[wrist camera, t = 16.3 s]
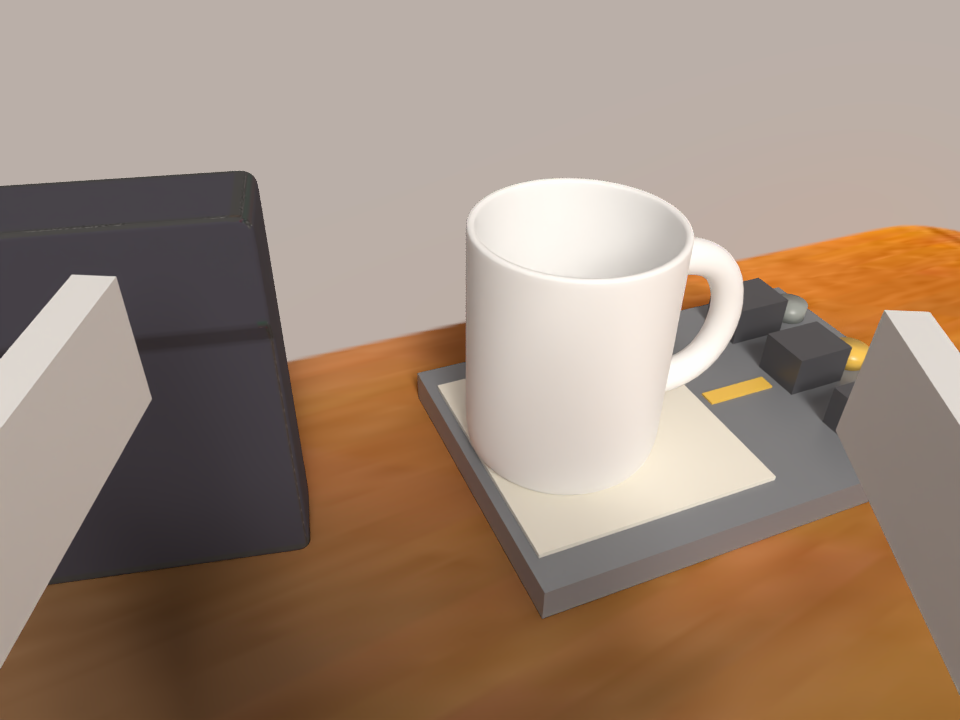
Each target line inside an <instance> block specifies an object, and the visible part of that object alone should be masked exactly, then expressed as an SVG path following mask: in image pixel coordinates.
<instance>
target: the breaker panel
mask: <svg viewBox="0 0 960 720" xmlns="http://www.w3.org/2000/svg"><path fill="white" fill-rule="evenodd" d="M743 287H744V293H743V306H742V311H741V316H740V319H739V322H738V325H737V327H736V330H735V332H734V334H733V336H732V338H731V340H730V341H729V343H728V345H727V346H726V348H725V350H724V351H723V352H722V353H721V355H720V356H719V357H718V359H717V360H716V361H715V362H714V363H713V364H712V365H711V366H710V367H709V368H708V369H707V370H705V371H704V372H703V373H702V374H700V375H699V376H698V377H696V378H695V379H693V380H691V381H690V382H688V383H686V384H684V385H682V386H680V387H678V388H675V389H672V390H670V391H666V392H665V395H664V400H663V405H662V411H661V416H660V421H659V426H658V430H657V435H656V439H655V442H654V445H653V447H652V449H651V452H650V454H649V456H648V458H647V460H646V461H645V463H644V464H643V465H642V466H641V467H640V468H639V469H638V470H637V471H636V472H635V473H634V474H633V475H632V476H630V477H629V478H628V479H626V480H625V481H623V482H621V483H619V484H618V485H615V486H613V487H610V488H608V489H605V490H601V491H598V492H594V493H588V494H582V495H555V494H547V493H542V492H537V491H533V490H530V489H527V488H524V487H521V486H519V485H517V484H515V483H513V482H510V481H508V480H507V479H505V478H503V477H502V476H500V475H499V474H497V473H496V472H495V471H493V470H492V469H491V468H490V467H489V466H488V465H487V464H486V463H485V462H484V461H483V460H482V459H481V457H480V456H479V455H478V453H477V452H476V450H475V448H474V447H473V445H472V443H471V440H470V436H469V433H468V428H467V419H466V362H463V363H459V364H454V365H450V366H446V367H442V368H438V369H433V370H429V371H425V372H421V373H417V374H418V397H419V399H420V401H421V402H422V404H423V406H424V408H425V410H426V411H427V413H428V415H429V417H430V419H431V420H432V422H433V424H434V426H435V428H436V429H437V431H438V433H439V435H440V436H441V438H442V440H443V442H444V444H445V445H446V447H447V449H448V451H449V453H450V454H451V456H452V458H453V460H454V462H455V463H456V465H457V467H458V469H459V470H460V472H461V474H462V476H463V478H464V479H465V481H466V483H467V485H468V487H469V488H470V490H471V492H472V494H473V496H474V497H475V499H476V501H477V503H478V504H479V506H480V508H481V510H482V512H483V513H484V515H485V517H486V519H487V521H488V522H489V524H490V526H491V528H492V530H493V531H494V533H495V535H496V537H497V539H498V540H499V542H500V544H501V546H502V547H503V549H504V551H505V553H506V555H507V556H508V558H509V560H510V562H511V564H512V565H513V567H514V569H515V571H516V573H517V574H518V576H519V578H520V580H521V581H522V583H523V585H524V587H525V589H526V590H527V592H528V594H529V596H530V598H531V599H532V601H533V603H534V605H535V607H536V608H537V610H538V612H539V614H540V615H541V617H542V619H543V618H546V617H548V616H551V615H554V614H557V613H559V612H562V611H565V610H568V609H571V608H573V607H576V606H579V605H582V604H585V603H587V602H590V601H593V600H596V599H598V598H601V597H604V596H607V595H610V594H612V593H615V592H618V591H621V590H623V589H626V588H629V587H632V586H635V585H637V584H640V583H643V582H646V581H649V580H651V579H654V578H657V577H660V576H662V575H665V574H668V573H671V572H674V571H676V570H679V569H682V568H685V567H687V566H690V565H693V564H696V563H699V562H701V561H704V560H707V559H710V558H713V557H715V556H718V555H721V554H724V553H726V552H729V551H732V550H735V549H738V548H740V547H743V546H746V545H749V544H751V543H754V542H757V541H760V540H763V539H765V538H768V537H771V536H774V535H777V534H779V533H782V532H785V531H788V530H790V529H793V528H796V527H799V526H802V525H804V524H807V523H810V522H813V521H815V520H818V519H821V518H824V517H827V516H829V515H832V514H835V513H838V512H841V511H843V510H846V509H849V508H852V507H854V506H857V505H860V504H863V503H866V502H868V501H869V500H868V498H867V496H866V494H865V492H864V490H863V488H862V485H861V483H860V481H859V479H858V477H857V475H856V473H855V471H854V468H853V466H852V464H851V462H850V460H849V458H848V456H847V453H846V451H845V449H844V447H843V445H842V443H841V441H840V439H839V436H838V434H837V432H836V428H837V425H838V423H839V420H840V418H841V415H842V413H843V411H844V408H845V406H846V403H847V401H848V398H849V396H850V393H851V391H852V388H853V386H854V384H855V381H856V379H857V376H858V374H859V371H860V369H861V366H862V364H863V361H864V359H865V356H866V354H867V352H868V349H869V347H868V346H867V345H866V344H865V343H863V342H862V341H860V340H857V339H854V338H849V337H846V336H844V335H843V334H842V333H840V332H839V331H837V330H836V329H835V328H833V327H832V326H831V325H829V324H828V323H827V322H825V321H824V320H822V319H821V318H820V317H818V316H817V315H816V314H814V313H813V312H812V311H810V310H809V309H807V307H808V304H807V302H806V301H805V300H804V299H803V298H801V297H799V296H796V295H792V294H787V293H786V292H784V291H783V290H781V289H780V288H774V289H773V288H772V287H770V286H769V285H767V284H766V283H765V282H763V281H762V280H761V279H759V278H756V279H752V280H748V281H743ZM710 301H711V297H710ZM709 307H710V302H709V304H707V305H703V306H699V307H694V308H690V309H686V310H682V311H681V312H680V317H679V322H678V327H677V333H676V338H675V343H674V348H673V353H672V355H674V354H676V353H678V352H680V351H681V350H683V349H684V348H685V347H686V346H688V345H689V344H690V343H691V342H692V340H693V339H694V338H695V337H696V335H697V334H698V333H699V331H700V329H701V328H702V326H703V324H704V322H705V320H706V317H707V314H708V311H709Z"/></svg>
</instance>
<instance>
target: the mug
mask: <svg viewBox="0 0 960 720" xmlns="http://www.w3.org/2000/svg"><path fill="white" fill-rule="evenodd" d="M687 275H700V276H703V277H704V278H705V279H707V281H708V283H709V286H710V291H711V301H710V307H709V311H708V314H707V317H706V320H705V322H704V324H703V326H702V328H701V329H700V331H699V333H698V334H697V335H696V337H695V338H694V339H693V340H692V342H691V343H690V344H689V345H688V346H686V347H685V348H684V349H683V350H681V351H680V352H678V353H676V354H674V355H672V353H673V348H674V343H675V338H676V333H677V327H678V322H679V317H680V312H681V306H682V301H683V296H684V291H685V286H686V281H687ZM743 293H744V287H743V279H742V274H741V272H740V269H739V266H738V265H737V263H736V261H735V260H734V258H733V257H732V255H731V254H730V253H729V252H728V251H727V250H726V249H725V248H723V247H722V246H720V245H718V244H716V243H714V242H712V241H710V240H706V239H703V238H699V237H694V233H693V229H692V227H691V224H690V222H689V221H688V219H687V218H686V217H685V216H684V215H683V214H682V212H680V211H679V210H678V209H677V208H676V207H674V206H673V205H672V204H670V203H668V202H667V201H665V200H663V199H661V198H659V197H657V196H655V195H653V194H651V193H648V192H646V191H643V190H640V189H637V188H634V187H630V186H626V185H622V184H618V183H613V182H607V181H601V180H594V179H582V178H551V179H540V180H533V181H527V182H522V183H517V184H514V185H510V186H507V187H504V188H502V189H499V190H496V191H494V192H492V193H491V194H489V195H487V196H486V197H484V198H483V199H481V200H480V201H479V202H478V203H477V204H476V205H475V206H474V207H473V209H472V210H471V211H470V213H469V216H468V218H467V223H466V419H467V428H468V433H469V436H470V440H471V443H472V445H473V447H474V448H475V450H476V452H477V453H478V455H479V456H480V457H481V459H482V460H483V461H484V462H485V463H486V464H487V465H488V466H489V467H490V468H491V469H492V470H493V471H495V472H496V473H497V474H499V475H500V476H502V477H503V478H505V479H507V480H508V481H510V482H513V483H515V484H517V485H519V486H521V487H524V488H527V489H530V490H533V491H537V492H542V493H547V494H555V495H582V494H588V493H594V492H598V491H601V490H605V489H608V488H610V487H613V486H615V485H618V484H619V483H621V482H623V481H625V480H626V479H628V478H629V477H630V476H632V475H633V474H634V473H635V472H636V471H637V470H638V469H639V468H640V467H641V466H642V465H643V464H644V463H645V461H646V460H647V458H648V456H649V454H650V452H651V449H652V447H653V445H654V442H655V439H656V435H657V430H658V426H659V421H660V416H661V411H662V405H663V400H664V395H665V392H666V391H670V390H672V389H675V388H678V387H680V386H682V385H684V384H686V383H688V382H690V381H691V380H693V379H695V378H696V377H698V376H699V375H700V374H702V373H703V372H704V371H705V370H707V369H708V368H709V367H710V366H711V365H712V364H713V363H714V362H715V361H716V360H717V359H718V357H719V356H720V355H721V353H722V352H723V351H724V350H725V348H726V346H727V345H728V343H729V341H730V340H731V338H732V336H733V334H734V332H735V330H736V327H737V325H738V322H739V319H740V316H741V311H742V306H743Z"/></svg>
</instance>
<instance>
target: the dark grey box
mask: <svg viewBox="0 0 960 720" xmlns="http://www.w3.org/2000/svg"><path fill="white" fill-rule="evenodd" d="M71 275H93V276H116V278H117V281H118V284H119V288H120V291H121V295H122V298H123V302H124V305H125V308H126V312H127V315H128V319H129V322H130V326H131V329H132V332H133V336H134V339H135V343H136V346H137V349H138V353H139V356H140V360H141V363H142V367H143V370H144V373H145V377H146V380H147V384H148V387H149V390H150V394H151V397H152V400H151V402H150V403H149V405H148V407H147V409H146V410H145V412H144V414H143V416H142V418H141V419H140V421H139V423H138V425H137V426H136V428H135V430H134V432H133V434H132V435H131V437H130V439H129V441H128V443H127V444H126V446H125V448H124V450H123V451H122V453H121V455H120V457H119V459H118V460H117V462H116V464H115V466H114V467H113V469H112V471H111V473H110V475H109V476H108V478H107V480H106V482H105V483H104V485H103V487H102V489H101V491H100V492H99V494H98V496H97V498H96V499H95V501H94V503H93V505H92V507H91V508H90V510H89V512H88V514H87V515H86V517H85V519H84V521H83V523H82V524H81V526H80V528H79V530H78V531H77V533H76V535H75V537H74V539H73V540H72V542H71V544H70V546H69V547H68V549H67V551H66V553H65V555H64V556H63V558H62V560H61V562H60V563H59V565H58V567H57V569H56V571H55V572H54V574H53V576H52V578H51V579H50V581H49V583H48V585H50V584H57V583H65V582H72V581H79V580H86V579H93V578H100V577H107V576H114V575H122V574H129V573H136V572H143V571H150V570H157V569H164V568H172V567H179V566H186V565H193V564H200V563H207V562H214V561H221V560H229V559H236V558H243V557H250V556H257V555H264V554H271V553H279V552H286V551H293V550H299V549H302V548H305V547H306V546H307V545H308V544H309V541H310V529H309V497H308V486H307V480H306V474H305V468H304V462H303V456H302V450H301V444H300V438H299V432H298V426H297V419H296V413H295V407H294V401H293V395H292V389H291V383H290V377H289V371H288V365H287V359H286V353H285V347H284V341H283V335H282V328H281V322H280V316H279V310H278V305H277V298H276V292H275V286H274V280H273V274H272V268H271V262H270V255H269V249H268V243H267V237H266V232H265V225H264V219H263V213H262V207H261V201H260V195H259V189H258V184H257V181H256V179H255V178H254V176H253V175H251V174H250V173H248V172H245V171H229V172H215V173H214V172H213V173H198V174H182V175H166V176H151V177H135V178H121V179H104V180H88V181H72V182H57V183H41V184H26V185H11V186H0V359H1V358H2V356H3V355H4V354H5V353H6V352H7V350H8V349H9V348H10V347H11V346H12V345H13V343H14V342H15V341H16V340H17V339H18V338H19V336H20V335H21V334H22V333H23V332H24V330H25V329H26V328H27V327H28V326H29V325H30V323H31V322H32V321H33V320H34V319H35V317H36V316H37V315H38V314H39V313H40V312H41V310H42V309H43V308H44V307H45V306H46V305H47V303H48V302H49V301H50V300H51V299H52V297H53V296H54V295H55V294H56V293H57V292H58V290H59V289H60V288H61V287H62V286H63V284H64V283H65V282H66V281H67V280H68V279H69V277H70V276H71Z"/></svg>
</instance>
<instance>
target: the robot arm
mask: <svg viewBox="0 0 960 720" xmlns="http://www.w3.org/2000/svg"><path fill="white" fill-rule="evenodd" d="M151 400H152V397H151V394H150V390H149V387H148V384H147V380H146V377H145V373H144V370H143V367H142V363H141V360H140V356H139V353H138V349H137V346H136V343H135V339H134V336H133V332H132V329H131V326H130V322H129V319H128V315H127V312H126V308H125V305H124V302H123V298H122V295H121V291H120V288H119V284H118V281H117V278H116V276H93V275H71V276H70V277H69V279H68V280H67V281H66V282H65V283H64V284H63V286H62V287H61V288H60V289H59V290H58V292H57V293H56V294H55V295H54V296H53V297H52V299H51V300H50V301H49V302H48V303H47V305H46V306H45V307H44V308H43V309H42V310H41V312H40V313H39V314H38V315H37V316H36V317H35V319H34V320H33V321H32V322H31V323H30V325H29V326H28V327H27V328H26V329H25V330H24V332H23V333H22V334H21V335H20V336H19V338H18V339H17V340H16V341H15V342H14V343H13V345H12V346H11V347H10V348H9V349H8V350H7V352H6V353H5V354H4V355H3V356H2V358H1V359H0V668H1V667H2V665H3V663H4V661H5V660H6V658H7V656H8V654H9V652H10V651H11V649H12V647H13V645H14V644H15V642H16V640H17V638H18V636H19V635H20V633H21V631H22V629H23V628H24V626H25V624H26V622H27V620H28V619H29V617H30V615H31V613H32V612H33V610H34V608H35V606H36V604H37V603H38V601H39V599H40V597H41V595H42V594H43V592H44V590H45V588H46V587H47V585H48V583H49V581H50V579H51V578H52V576H53V574H54V572H55V571H56V569H57V567H58V565H59V563H60V562H61V560H62V558H63V556H64V555H65V553H66V551H67V549H68V547H69V546H70V544H71V542H72V540H73V539H74V537H75V535H76V533H77V531H78V530H79V528H80V526H81V524H82V523H83V521H84V519H85V517H86V515H87V514H88V512H89V510H90V508H91V507H92V505H93V503H94V501H95V499H96V498H97V496H98V494H99V492H100V491H101V489H102V487H103V485H104V483H105V482H106V480H107V478H108V476H109V475H110V473H111V471H112V469H113V467H114V466H115V464H116V462H117V460H118V459H119V457H120V455H121V453H122V451H123V450H124V448H125V446H126V444H127V443H128V441H129V439H130V437H131V435H132V434H133V432H134V430H135V428H136V426H137V425H138V423H139V421H140V419H141V418H142V416H143V414H144V412H145V410H146V409H147V407H148V405H149V403H150V402H151ZM836 432H837V434H838V436H839V439H840V441H841V443H842V445H843V447H844V449H845V451H846V453H847V456H848V458H849V460H850V462H851V464H852V466H853V468H854V471H855V473H856V475H857V477H858V479H859V481H860V483H861V485H862V488H863V490H864V492H865V494H866V496H867V498H868V500H869V503H870V505H871V507H872V509H873V511H874V513H875V515H876V518H877V520H878V522H879V524H880V526H881V528H882V530H883V532H884V535H885V537H886V539H887V541H888V543H889V545H890V547H891V550H892V552H893V554H894V556H895V558H896V560H897V562H898V565H899V567H900V569H901V571H902V573H903V575H904V577H905V579H906V582H907V584H908V586H909V588H910V590H911V592H912V594H913V597H914V599H915V601H916V603H917V605H918V607H919V609H920V611H921V614H922V616H923V618H924V620H925V622H926V624H927V626H928V629H929V631H930V633H931V635H932V637H933V639H934V641H935V644H936V646H937V648H938V650H939V652H940V654H941V656H942V658H943V661H944V663H945V665H946V667H947V669H948V671H949V673H950V676H951V678H952V680H953V682H954V684H955V686H956V688H957V691H958V693H959V695H960V353H959V351H958V350H957V349H956V347H955V346H954V344H953V343H952V342H951V340H950V339H949V338H948V336H947V335H946V334H945V332H944V331H943V329H942V328H941V327H940V325H939V324H938V323H937V321H936V320H935V319H934V317H933V316H932V314H931V313H930V312H917V311H894V310H884V312H883V315H882V317H881V320H880V322H879V324H878V327H877V329H876V332H875V334H874V337H873V339H872V342H871V344H870V347H869V349H868V352H867V354H866V356H865V359H864V361H863V364H862V366H861V369H860V371H859V374H858V376H857V379H856V381H855V384H854V386H853V388H852V391H851V393H850V396H849V398H848V401H847V403H846V406H845V408H844V411H843V413H842V415H841V418H840V420H839V423H838V425H837V428H836Z"/></svg>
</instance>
